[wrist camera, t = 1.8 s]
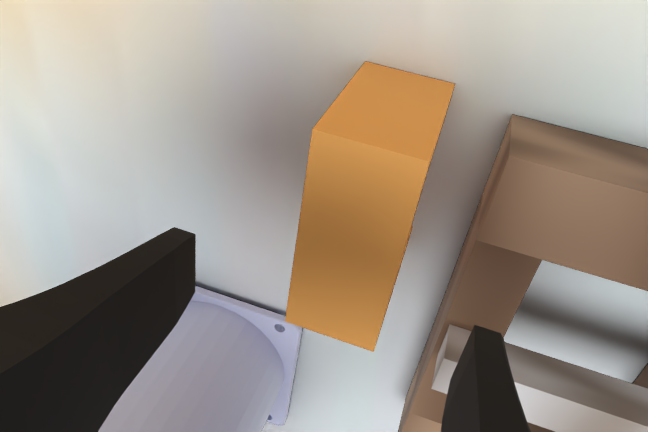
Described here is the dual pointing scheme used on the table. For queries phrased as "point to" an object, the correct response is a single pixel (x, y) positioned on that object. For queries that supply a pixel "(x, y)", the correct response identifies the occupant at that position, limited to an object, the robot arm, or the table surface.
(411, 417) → the shelf
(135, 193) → the table surface
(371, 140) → the orange upright block
